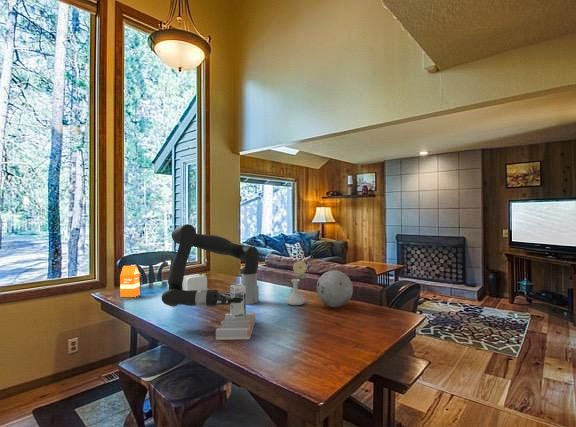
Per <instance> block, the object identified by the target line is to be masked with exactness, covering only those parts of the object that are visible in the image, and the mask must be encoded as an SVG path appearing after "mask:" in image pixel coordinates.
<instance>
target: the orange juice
mask: <svg viewBox="0 0 576 427" xmlns="http://www.w3.org/2000/svg"><path fill="white" fill-rule="evenodd" d="M119 278H120V279H119V282H120V283H119V284H120V288H119V290H120V292H119V293H120V297H135V298H137V297H139V296H140V294H141V293H140V286H141V285H140V281H141V280H140V271H139V268H138V266H137V265H123V266H122V269H121V272H120V275H119ZM138 295H139V296H138ZM136 296H137V297H136Z"/></svg>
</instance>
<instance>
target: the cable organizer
mask: <svg viewBox="0 0 576 427" xmlns="http://www.w3.org/2000/svg"><path fill="white" fill-rule="evenodd" d="M182 286H183V288H182V290H185V291H189V290H208V277H207V276H206V275H201V274H198V273H195V274H189V275H184V279H183V284H182Z"/></svg>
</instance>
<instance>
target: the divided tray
mask: <svg viewBox="0 0 576 427" xmlns="http://www.w3.org/2000/svg"><path fill="white" fill-rule="evenodd" d="M255 322H256V313H255V312H250V313H249V312H246V317H242V318H236V319H234V318H233V317H232V316H231V315H230V313H225V314H224V320H221V321H220V328H219V327H217V328H216V329H215V340H216V341H217V340H219V341H220V340H221V341H222V340H223V341H224V340H230V341H231V340H232V341H233V340H250V339H251V337H252V336H251V335H252V333H253V330H254V326H255V324H256V323H255Z"/></svg>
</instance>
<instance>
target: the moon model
mask: <svg viewBox="0 0 576 427" xmlns="http://www.w3.org/2000/svg"><path fill="white" fill-rule="evenodd" d="M353 292H354V287H353V283H352V280H351V279H350V277H349V276H348V275H347V274H346V273H344V272H343V271H340V270H336V269H335V270H328V271H326V272H324V273H323V274H321V276H319V278H318V279H317V282H316V294H317V297H318V299H319V300H320V301H321V302H322V303H323V304H324V305H325V306H327V307H330V308H340V307H343V306H344V305H346V304H347V303H348V302H349V301H350V300H351V298H352V296H353Z"/></svg>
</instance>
